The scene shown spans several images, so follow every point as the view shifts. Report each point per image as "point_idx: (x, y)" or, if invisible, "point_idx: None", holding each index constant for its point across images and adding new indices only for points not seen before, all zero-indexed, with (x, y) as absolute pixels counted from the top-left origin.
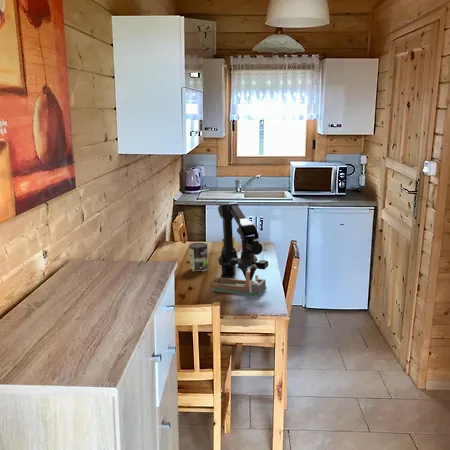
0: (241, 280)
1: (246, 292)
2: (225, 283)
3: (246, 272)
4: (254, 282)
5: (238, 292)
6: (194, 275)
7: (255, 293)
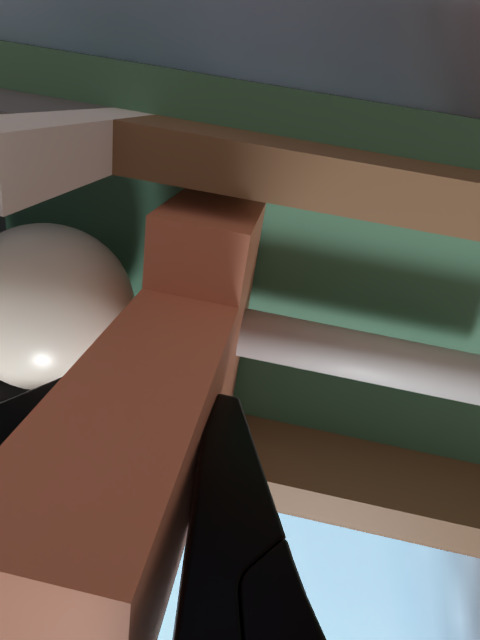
0: (386, 508)
1: (218, 103)
2: None
3: (91, 568)
4: (27, 323)
5: (398, 106)
6: None
7: (26, 74)
